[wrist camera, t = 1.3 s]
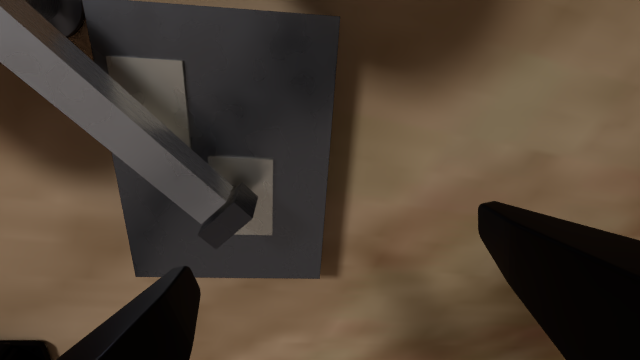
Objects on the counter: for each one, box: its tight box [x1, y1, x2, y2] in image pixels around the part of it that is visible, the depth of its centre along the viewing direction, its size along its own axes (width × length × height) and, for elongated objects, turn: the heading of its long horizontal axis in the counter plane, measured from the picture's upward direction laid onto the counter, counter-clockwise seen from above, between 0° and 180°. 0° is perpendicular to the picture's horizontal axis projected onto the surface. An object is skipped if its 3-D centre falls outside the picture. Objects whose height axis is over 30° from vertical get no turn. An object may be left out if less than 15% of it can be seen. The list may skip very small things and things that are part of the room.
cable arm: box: [0, 0, 258, 249], centre depth 16 cm, size 16×3×5 cm, turn 41°
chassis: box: [82, 0, 340, 279], centre depth 19 cm, size 16×12×2 cm
